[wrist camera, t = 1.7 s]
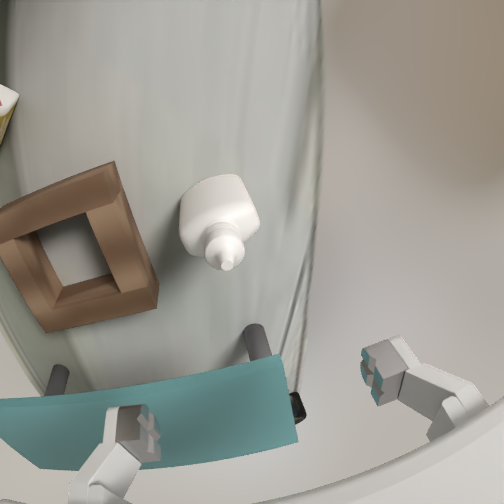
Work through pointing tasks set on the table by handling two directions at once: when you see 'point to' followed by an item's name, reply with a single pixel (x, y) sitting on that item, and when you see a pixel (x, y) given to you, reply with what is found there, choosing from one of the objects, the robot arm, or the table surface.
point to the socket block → (110, 241)
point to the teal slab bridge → (162, 414)
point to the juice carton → (6, 108)
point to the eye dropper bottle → (218, 220)
